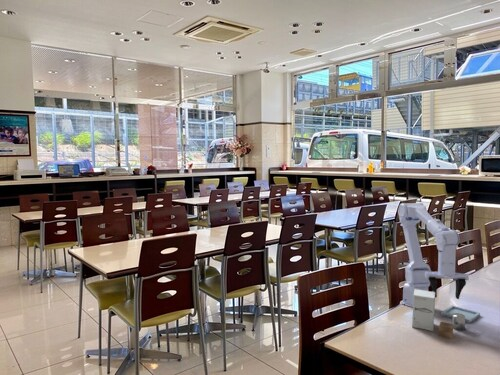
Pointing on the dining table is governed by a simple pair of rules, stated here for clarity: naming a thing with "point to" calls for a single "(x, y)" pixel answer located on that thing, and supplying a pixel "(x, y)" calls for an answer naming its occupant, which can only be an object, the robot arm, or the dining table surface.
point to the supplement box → (423, 309)
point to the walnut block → (446, 330)
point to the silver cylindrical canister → (458, 322)
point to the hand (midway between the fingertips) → (446, 297)
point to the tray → (469, 314)
